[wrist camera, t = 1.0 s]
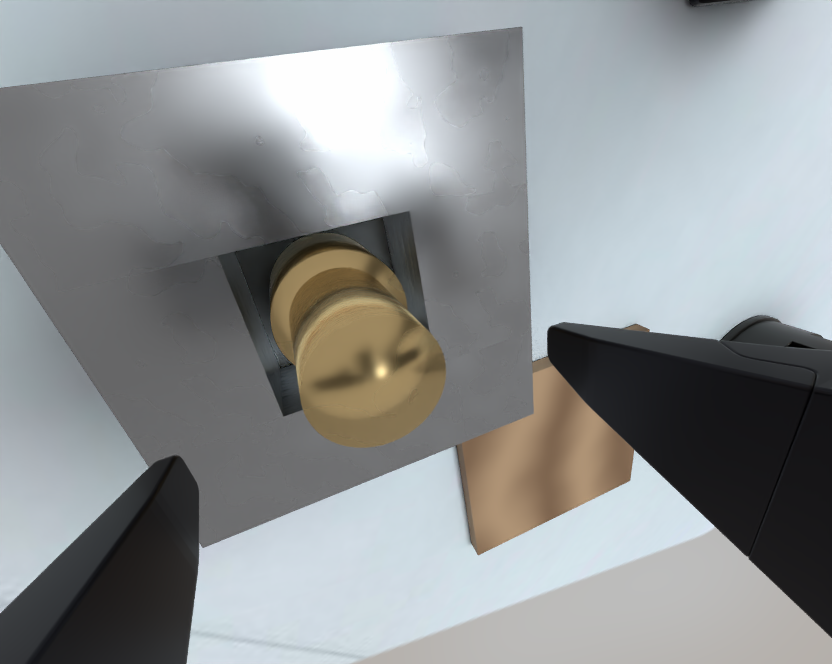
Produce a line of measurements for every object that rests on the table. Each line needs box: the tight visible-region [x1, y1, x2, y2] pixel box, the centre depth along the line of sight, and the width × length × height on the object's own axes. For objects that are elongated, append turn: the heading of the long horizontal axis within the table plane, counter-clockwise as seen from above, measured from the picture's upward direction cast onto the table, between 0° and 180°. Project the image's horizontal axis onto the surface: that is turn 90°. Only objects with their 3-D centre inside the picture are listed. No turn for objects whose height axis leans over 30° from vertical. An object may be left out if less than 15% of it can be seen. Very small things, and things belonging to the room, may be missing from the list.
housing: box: [0, 27, 534, 548], centre depth 16 cm, size 16×16×4 cm
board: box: [457, 324, 650, 555], centre depth 27 cm, size 14×14×1 cm
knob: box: [270, 233, 446, 448], centre depth 14 cm, size 5×5×9 cm
